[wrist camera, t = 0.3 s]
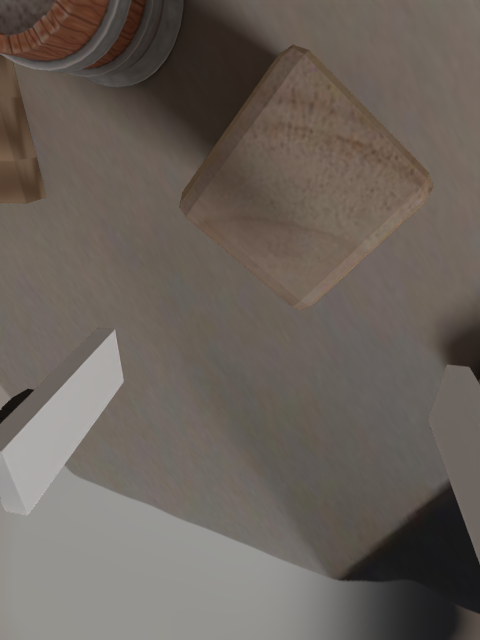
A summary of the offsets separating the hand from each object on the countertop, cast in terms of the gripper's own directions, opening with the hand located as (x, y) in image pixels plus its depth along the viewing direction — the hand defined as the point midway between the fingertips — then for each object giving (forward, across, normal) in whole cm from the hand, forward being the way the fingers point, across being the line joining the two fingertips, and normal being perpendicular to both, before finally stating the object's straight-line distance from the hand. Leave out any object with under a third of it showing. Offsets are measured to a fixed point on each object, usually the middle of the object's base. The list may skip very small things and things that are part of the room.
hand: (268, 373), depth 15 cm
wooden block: (+28, 0, +5) cm, 28 cm away
